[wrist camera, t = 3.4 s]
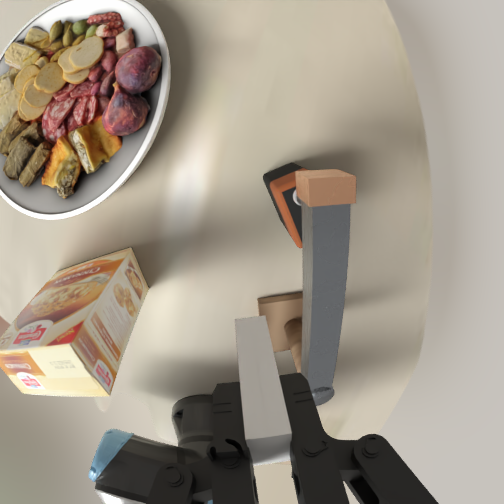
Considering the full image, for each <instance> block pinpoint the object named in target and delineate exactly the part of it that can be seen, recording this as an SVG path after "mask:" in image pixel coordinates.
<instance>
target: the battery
mask: <svg viewBox="0 0 504 504" xmlns="http://www.w3.org/2000/svg"><path fill="white" fill-rule="evenodd" d="M295 171H308V170H307V169H305V168H303V167H301V166H298V165H296V164H294V163H290V164H287V165H285V166H282V167H280V168H278V169H275V170H273V171H271V172H268V173H266V174H264V175H263V180H264V182H265V185H266V187H267V189H268V192H269V194H270V196H271V199H272V201H273V203H274V206H275V208H276V210H277V213H278V215H279V217H280V220H281V221H282V223H283V225H284V226H285V228H286V229H287V231H288V232H289V234H290V236H291V237H292V239H293V240H294V242H295V243H296V245H297V246H298V247H299V248H303V247H302V208H301V199H300V198H299V197H298V196H297V195H296V175H295Z"/></svg>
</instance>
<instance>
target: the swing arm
mask: <svg viewBox="0 0 504 504" xmlns="http://www.w3.org/2000/svg"><path fill="white" fill-rule="evenodd" d="M295 175H296V195H297V196H298V197H299V198H300V199H301V208H302V247H303V314H302V352H301V374H302V375H303V376H304V377H305V378H306V379H307V380H308V383H309V386H310V389H311V392H312V395H313V399H314V402H315V405H316V406H318V405H321V404H324V403H326V402H327V401H329V400H330V399H331V398H332V397H333V395H334V389H333V387H332V383H333V377H334V371H335V366H336V360H337V353H338V347H339V340H340V333H341V325H342V318H343V309H344V300H345V290H346V279H347V267H348V252H349V234H350V204H352V203H356V176H354V175H352V174H349V173H346V172H344V171H341V170H338V169H327V170H308V171H295Z"/></svg>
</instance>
